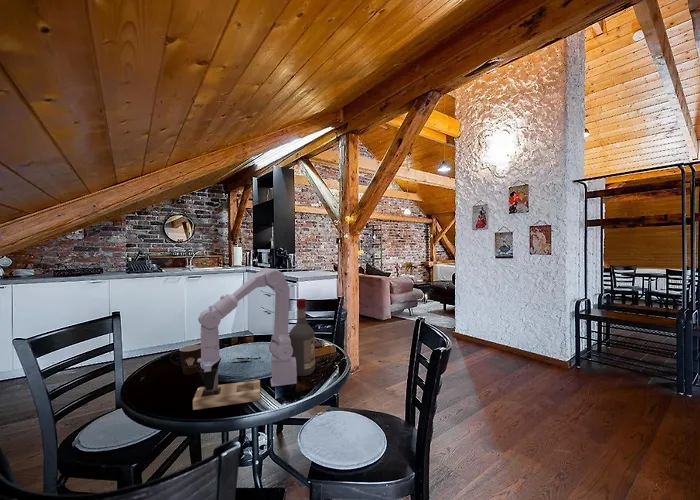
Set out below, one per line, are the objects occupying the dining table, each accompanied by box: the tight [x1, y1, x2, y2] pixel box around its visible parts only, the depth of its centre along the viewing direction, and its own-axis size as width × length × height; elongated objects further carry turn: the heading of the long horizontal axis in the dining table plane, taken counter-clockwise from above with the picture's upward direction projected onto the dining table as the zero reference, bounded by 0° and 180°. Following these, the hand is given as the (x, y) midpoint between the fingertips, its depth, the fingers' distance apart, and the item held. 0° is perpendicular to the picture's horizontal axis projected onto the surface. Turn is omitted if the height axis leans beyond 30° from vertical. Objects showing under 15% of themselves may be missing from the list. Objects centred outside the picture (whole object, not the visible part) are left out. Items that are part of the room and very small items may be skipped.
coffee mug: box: [169, 344, 202, 375], centre depth 138 cm, size 12×9×10 cm
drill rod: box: [205, 370, 219, 396], centre depth 112 cm, size 4×4×10 cm
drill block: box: [192, 379, 261, 411], centre depth 113 cm, size 21×10×3 cm, turn 106°
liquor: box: [288, 298, 316, 377], centre depth 135 cm, size 9×9×30 cm
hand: (211, 384), depth 112 cm, fingers open, 7 cm apart
